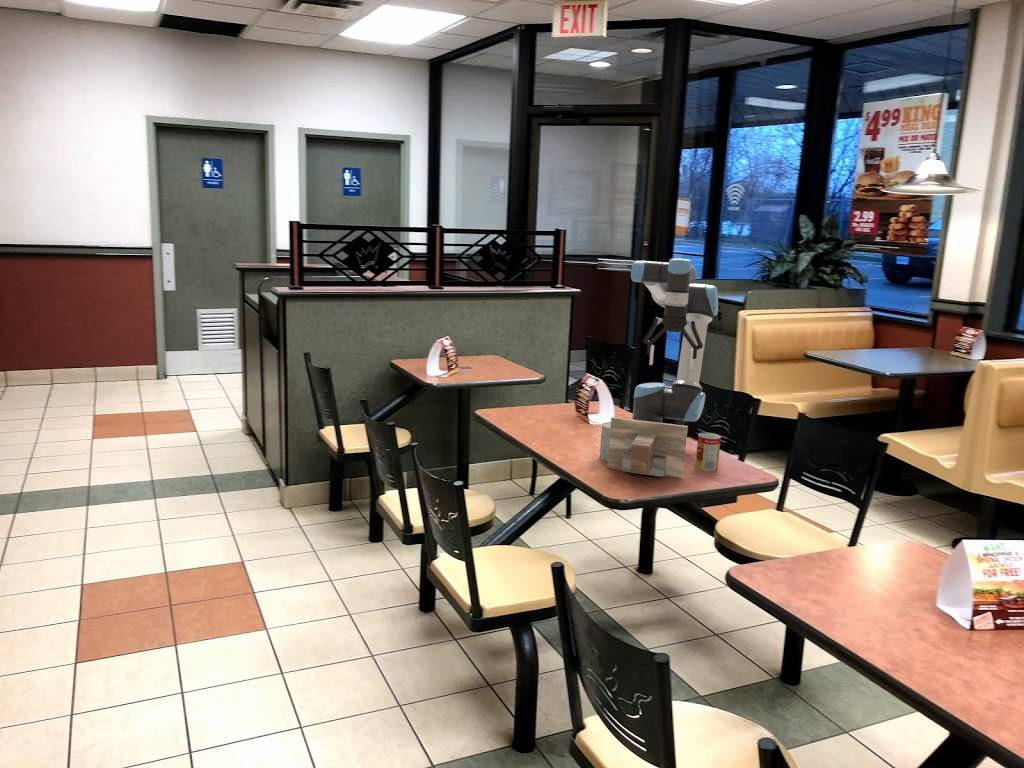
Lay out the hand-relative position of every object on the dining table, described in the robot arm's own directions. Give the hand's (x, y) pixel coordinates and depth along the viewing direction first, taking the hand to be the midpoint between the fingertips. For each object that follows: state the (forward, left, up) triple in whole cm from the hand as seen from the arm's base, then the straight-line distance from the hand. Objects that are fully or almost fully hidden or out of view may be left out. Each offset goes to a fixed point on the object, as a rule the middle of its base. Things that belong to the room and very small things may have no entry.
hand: (670, 366), depth 286 cm
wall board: (+11, -1, -37) cm, 38 cm away
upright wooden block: (+16, +1, -33) cm, 37 cm away
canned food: (-13, +11, -37) cm, 41 cm away
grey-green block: (+2, -19, -37) cm, 42 cm away
